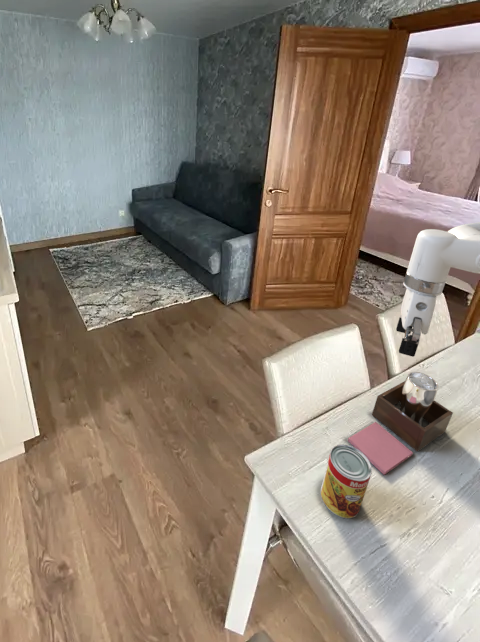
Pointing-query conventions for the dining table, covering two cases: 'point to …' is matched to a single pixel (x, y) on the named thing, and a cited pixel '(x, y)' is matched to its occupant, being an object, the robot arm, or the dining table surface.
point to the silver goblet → (418, 395)
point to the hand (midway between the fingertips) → (404, 342)
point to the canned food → (345, 480)
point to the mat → (380, 447)
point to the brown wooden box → (407, 426)
